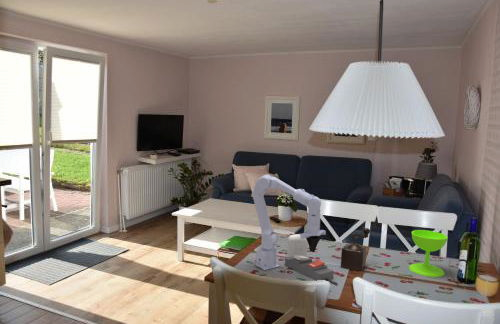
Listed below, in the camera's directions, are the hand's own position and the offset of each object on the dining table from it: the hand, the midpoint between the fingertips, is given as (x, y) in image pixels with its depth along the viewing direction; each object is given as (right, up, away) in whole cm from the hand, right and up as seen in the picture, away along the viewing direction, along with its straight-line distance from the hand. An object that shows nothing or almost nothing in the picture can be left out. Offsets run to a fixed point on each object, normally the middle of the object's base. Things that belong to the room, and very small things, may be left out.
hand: (312, 251), depth 188 cm
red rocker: (+1, -5, -4) cm, 7 cm away
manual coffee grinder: (+23, -10, +12) cm, 28 cm away
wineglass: (+57, -11, +7) cm, 58 cm away
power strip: (0, -10, -2) cm, 10 cm away
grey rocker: (-5, -4, +4) cm, 7 cm away
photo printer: (-5, -8, +19) cm, 21 cm away
